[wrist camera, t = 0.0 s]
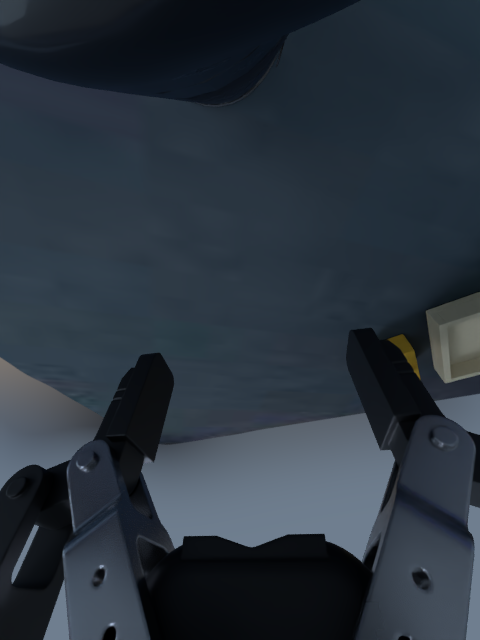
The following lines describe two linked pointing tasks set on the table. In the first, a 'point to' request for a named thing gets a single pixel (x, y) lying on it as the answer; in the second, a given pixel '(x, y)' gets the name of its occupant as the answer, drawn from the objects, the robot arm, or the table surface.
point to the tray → (456, 338)
